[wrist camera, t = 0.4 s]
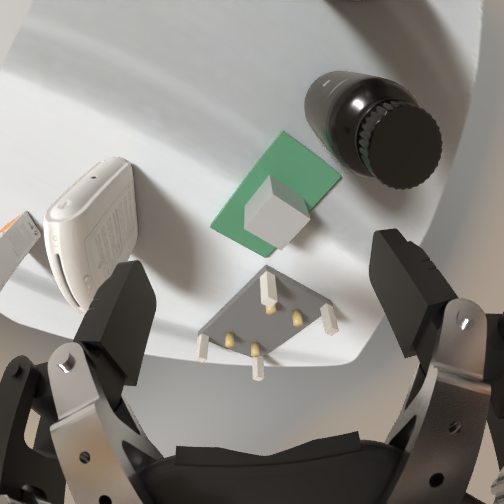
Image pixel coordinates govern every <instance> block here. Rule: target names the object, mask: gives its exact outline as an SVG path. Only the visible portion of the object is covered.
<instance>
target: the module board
mask: <svg viewBox="0 0 504 504" xmlns="http://www.w3.org/2000/svg"><path fill="white" fill-rule="evenodd" d="M340 177H341V175H340V174H339V173H338V172H337V171H336V170H335V169H333V168H332V167H331V166H330V165H328V164H327V163H326V162H325V161H323V160H322V159H321V158H319V157H318V156H317V155H316V154H314V153H313V152H312V151H310V150H309V149H308V148H306V147H305V146H304V145H302V144H301V143H300V142H298V141H297V140H296V139H294V138H293V137H291V136H290V135H289V134H287V133H286V132H284V131H283V130H282V132H281V133H280V134H279V135H278V137H277V138H276V139H275V140H274V142H273V143H272V144H271V145H270V147H269V148H268V149H267V150H266V152H265V153H264V154H263V155H262V157H261V158H260V159H259V161H258V162H257V163H256V165H255V166H254V167H253V168H252V170H251V171H250V172H249V174H248V175H247V176H246V178H245V179H244V180H243V182H242V183H241V184H240V185H239V187H238V188H237V189H236V191H235V192H234V193H233V195H232V196H231V198H230V199H229V200H228V202H227V203H226V204H225V206H224V207H223V208H222V210H221V211H220V212H219V214H218V215H217V217H216V218H215V219H214V221H213V222H212V224H211V226H210V228H212V229H214V230H215V231H217V232H219V233H221V234H223V235H225V236H226V237H228V238H230V239H232V240H234V241H236V242H237V243H239V244H241V245H243V246H245V247H247V248H248V249H250V250H252V251H254V252H256V253H258V254H259V255H261V256H263V257H265V258H266V257H267V256H268V255H269V254H270V253H271V252H272V251H273V250H274V249H275V248H278V249H280V250H282V249H283V248H284V247H285V246H286V245H287V244H288V243H289V242H290V241H291V240H292V239H293V238H294V237H295V236H296V234H297V233H298V232H299V231H300V230H301V229H302V228H303V227H304V226H305V225H306V224H307V223H308V222H309V221H310V220H311V219H310V216H309V213H308V212H309V211H310V210H311V209H312V208H313V207H314V206H315V204H316V203H317V202H318V201H319V200H320V199H321V198H322V197H323V196H324V195H325V194H326V192H327V191H328V190H329V189H330V188H331V187H332V186H333V185H334V184H335V183H336V181H337V180H338V179H339V178H340Z"/></svg>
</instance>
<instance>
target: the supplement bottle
mask: <svg viewBox="0 0 504 504" xmlns="http://www.w3.org/2000/svg"><path fill="white" fill-rule="evenodd" d="M305 115H306V118H307V121H308V123H309V125H310V127H311V128H312V129H313V131H314V132H315V133H316V134H317V136H318V137H319V138H320V139H321V140H322V141H323V143H324V144H325V145H326V146H327V147H328V149H329V150H330V151H331V152H332V153H333V155H334V156H335V157H336V158H337V159H338V161H339V162H340V163H341V164H342V165H343V166H344V167H346V168H347V169H348V170H349V171H351V172H352V173H354V174H356V175H359V176H361V177H364V178H369V179H378V180H379V181H380V182H381V183H382V184H386V185H387V186H388V187H393V188H395V189H402V190H404V189H406V188H408V189H410V188H412V187H417V186H418V185H419V184H421V183H423V182H424V181H425V180H426V179H428V178H429V177H430V175H431V174H432V173H433V172H434V170H435V168H436V167H437V166H438V161H439V160H440V158H441V152H442V140H441V133H440V131H439V127H438V126H437V124H436V121H435V120H434V119H433V118H432V116H431V115H430V114H429V113H427V112H426V111H425V110H424V109H422V108H420V107H419V105H418V103H417V101H416V100H415V98H414V97H413V96H412V95H411V93H410V92H409V91H407V90H406V89H405V88H404V87H403V86H401V85H399V84H398V83H396V82H394V81H391V80H388V79H385V78H381V77H376V76H371V75H366V74H360V73H354V72H347V71H335V72H330V73H327V74H325V75H323V76H321V77H319V78H318V79H317V80H316V81H315V82H314V83H313V84H312V85H311V87H310V88H309V90H308V92H307V94H306V98H305Z"/></svg>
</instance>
